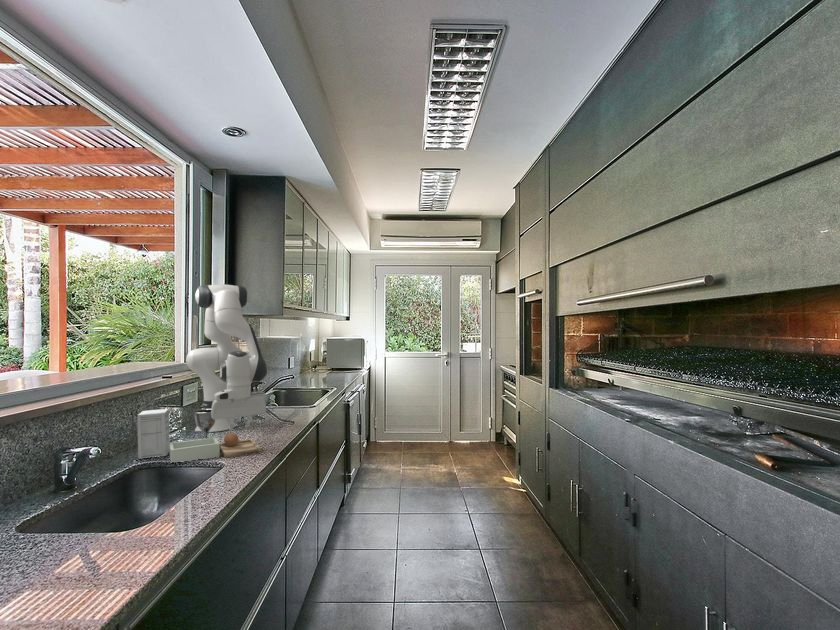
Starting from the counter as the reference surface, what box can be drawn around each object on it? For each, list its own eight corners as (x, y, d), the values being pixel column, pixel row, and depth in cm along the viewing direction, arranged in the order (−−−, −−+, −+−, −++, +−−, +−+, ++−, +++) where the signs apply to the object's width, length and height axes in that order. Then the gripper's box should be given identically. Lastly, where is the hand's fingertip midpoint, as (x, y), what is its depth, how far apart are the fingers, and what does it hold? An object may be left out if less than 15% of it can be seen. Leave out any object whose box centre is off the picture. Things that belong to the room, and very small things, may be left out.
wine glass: (190, 449, 184) (190, 411, 184) (208, 444, 191) (207, 408, 191) (203, 451, 180) (203, 413, 180) (221, 446, 187) (220, 409, 187)
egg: (243, 441, 184) (237, 437, 190) (235, 431, 182) (230, 428, 189) (232, 450, 181) (227, 446, 188) (224, 441, 180) (219, 437, 186)
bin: (169, 456, 174) (169, 443, 175) (215, 449, 183) (215, 437, 183) (170, 464, 164) (170, 450, 164) (219, 456, 172) (219, 443, 172)
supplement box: (170, 451, 182) (170, 408, 183) (166, 457, 174) (166, 412, 174) (142, 453, 179) (142, 410, 179) (137, 460, 170) (136, 414, 171)
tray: (218, 447, 186) (218, 443, 186) (252, 442, 192) (252, 439, 192) (224, 458, 170) (224, 454, 170) (261, 452, 177) (261, 448, 177)
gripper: (264, 389, 190) (265, 423, 189) (210, 394, 179) (210, 430, 179) (267, 391, 184) (268, 426, 184) (212, 396, 174) (212, 433, 174)
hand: (239, 428), depth 181 cm, fingers open, 5 cm apart
